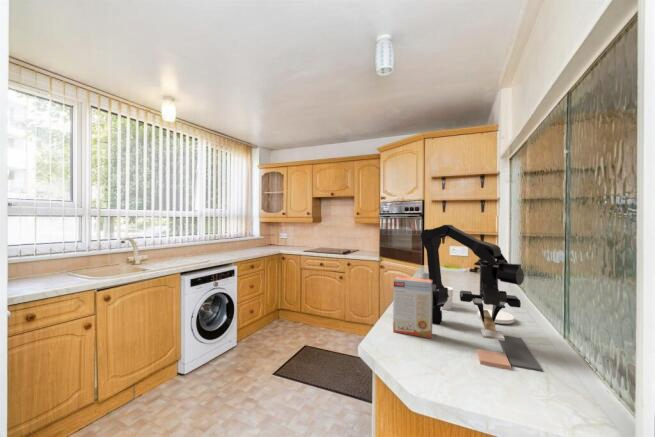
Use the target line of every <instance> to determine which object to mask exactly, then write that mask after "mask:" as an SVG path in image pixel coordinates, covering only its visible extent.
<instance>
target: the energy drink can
mask: <svg viewBox="0 0 655 437" xmlns="http://www.w3.org/2000/svg"><path fill="white" fill-rule="evenodd" d="M418 278H419V279H429V272H427V271H420V272H419V274H418Z"/></svg>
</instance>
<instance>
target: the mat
mask: <svg viewBox="0 0 655 437" xmlns="http://www.w3.org/2000/svg"><path fill="white" fill-rule="evenodd" d="M503 336H504V338H505V341H502V340H498V342H499V345H500V346H501V348H502V350H503V352H504V353H503V354H506V356H507V359H508V361H509V363H510V365H511V367H514V368H520V369H527V370H530V371H531V370H533V371H538V372H543V368H542V367H541V365H540V363H539V362H538V361H537V360H536V358H535V356H534V355H533V353H532V352H531V351H530V349H529V347H528V346H527V344H526V343H525V341H523V339H522V337H520V336H519V337H517V336H510V335H504V334H503Z"/></svg>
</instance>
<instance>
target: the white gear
mask: <svg viewBox="0 0 655 437" xmlns="http://www.w3.org/2000/svg"><path fill="white" fill-rule="evenodd" d="M483 310H488V312H489V314H490V316H491V317H492V309H490V308H483ZM477 316H478V317H479V318H480V311H479V310H477ZM515 320H516V319H515V315H512V314H511V313H509V312H506V311H502V310H500V311H499V312H498V314H497V316H496V319H495V321H494V323H495V324H503V325H506V324H507V325H509V324H510V325H511V324H514V323H515Z"/></svg>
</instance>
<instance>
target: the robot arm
mask: <svg viewBox="0 0 655 437" xmlns="http://www.w3.org/2000/svg"><path fill="white" fill-rule="evenodd" d="M446 237H449V238H451V239H452V240H454V241H456V242H458V243H460V244H461V245H463V246H465V247H466V248H468V249H470V250H471V251H472V252H473V254H474V255H475V256H476V257H478V260H477V261H476V262H474V263H473V265H474V266H478V267H479V294H475V293H472V291H470V290H460V291H459V300H460V302H464V303H465V302H466V303H471V302H472V303H473V305H474V306H477V308H478V311H480V314H481V317H482V320H481V322H482V321H483V322H484V310H483V309H484V305H486V306H487V305H488V306H489V305H491V306H492V309H491V310H492V319H493V321H495V319H496V316H497V314H498V312H499V311H502V309H505V308H506V305H505V304H507V305H508V306H509V307H511V308H521V306H522V305H521V303H522V302H521V299H520V298H519V297H517V295H514V294H513V295H511V294H508V293H507V290H506V291H504V290H499V281H500V282H503V283H506V284H507V283H508V284H513V285H516V286H517V285H518V286H521V285H522V284H523V282H524V278H525V273H524V270H523V269H522V264H520V263H519V264H518V263H509V262H508V260H507V259H506V258H505V256H504V255H503V253H502V250H501V247H500V246H499V245H497V244H495V243H491V242H488V241H484V240H480V239H478V238H476V237H474V236H473V235H470V234H468V233H466V232H464V231H463V230H461V229H458V228H456V227H455V226H454V225H453V224H443V225H441V226H437V227H435V228H429V229H428V228H427V229H423V230H422V231H421V233H420V238H421V243H422V245H423V247H424V248H425V250H426V259H427V260H426V262H427V270H428V272H427V273H429V280H432V325H433V324H434V325H441V324H442V322H443V309H441V307H443V306H444V304H445V303H446V302H447V300H448V297H449V296H448V288H447V287H446V288H444V286H445V285H444V284H443V282H442V281H443V280H442V274H441V263H440V262H441V261H440V252H439V251H440V250H439V249H440V247H441V244H442V239H443V238H446Z"/></svg>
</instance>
